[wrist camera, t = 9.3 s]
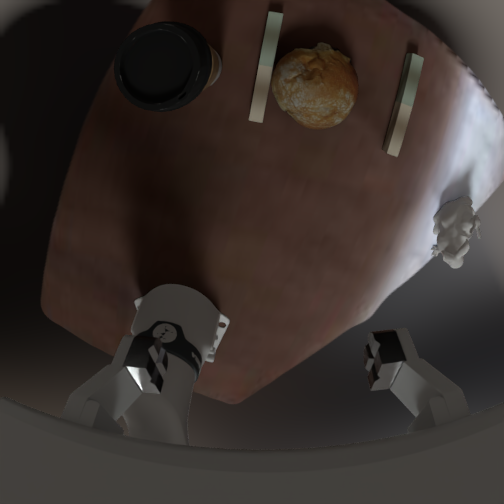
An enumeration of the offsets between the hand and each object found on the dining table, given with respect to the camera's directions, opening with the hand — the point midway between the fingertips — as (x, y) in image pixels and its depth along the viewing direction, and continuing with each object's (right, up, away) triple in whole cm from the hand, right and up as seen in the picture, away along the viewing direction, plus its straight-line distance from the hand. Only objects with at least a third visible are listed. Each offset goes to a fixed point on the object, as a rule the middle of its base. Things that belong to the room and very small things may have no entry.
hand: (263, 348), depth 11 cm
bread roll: (+8, +25, +20) cm, 34 cm away
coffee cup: (-7, +26, +20) cm, 34 cm away
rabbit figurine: (+29, +9, +29) cm, 42 cm away
